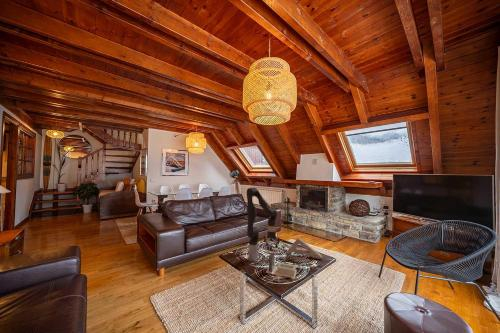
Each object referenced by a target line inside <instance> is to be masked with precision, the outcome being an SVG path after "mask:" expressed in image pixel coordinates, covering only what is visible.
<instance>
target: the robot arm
mask: <svg viewBox="0 0 500 333" xmlns="http://www.w3.org/2000/svg"><path fill="white" fill-rule="evenodd" d="M253 198H256V199H257V200H258V204H259V206H260V207H261V209H263V211H264V213H265V215H266V216H267V217H268V220H267V235H266V234H265V235H264V236H263V242H264V243H265V246H266V248H267V247H268V246H269V241H270V242H274V243H275V249H277V248H278V245H279V244H280V236H277V233H276V230H277V229H276V221H277V217H278V216H277V215H278V211H277V209H276V208H275V207H273V208H270V207H271V205H270V204H269V203H268V202H267V201H266V199H264V197H263V195H262V194H261V193H260V191H259V189H258V188H257V187H249V188H247V189H246V201H247V202H246V203H247V228H246V229H247V231H246V233H247V234H246V235H247V237H248V238H249V240H248V254H247V255H248V261H250V262H253V263H254V262H256V261H258V259H259V250H258V249H259V244H258V243H259V239H260V238H259V236H260V235H259V234H260V233H259V229H258V228H257V227H256V226H254V223H255V220H256V218H257V207H256V205H255V203H254V202H253Z"/></svg>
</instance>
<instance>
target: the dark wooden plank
mask: <svg viewBox="0 0 500 333" xmlns="http://www.w3.org/2000/svg"><path fill="white" fill-rule="evenodd" d="M268 255H269V256H268V267H269V272H272V271H273V269H274V266H275V252H274V251H273V252H272V251H271V252H270V254H268Z"/></svg>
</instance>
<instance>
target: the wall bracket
mask: <svg viewBox="0 0 500 333" xmlns="http://www.w3.org/2000/svg"><path fill="white" fill-rule="evenodd" d="M299 245H300V246H301V247H302V248H299V247H298V246H299ZM293 252H294V253H298V254H299V253H301V254H305V255H307V256H309V257H311V258H312V259H317V260H319V259H320V260H322V259H323V256H322V255H321V253H319V252H318V251H317V250H315V249H314V247H311V246H310V245H309V244H308V243H307V242H306V241H304V240H303V239H302V238H301V237H299V236H297V238H296V239H295V241H293V243H292V244H291V245H290V247H289V248H288V249H287V251H286V253H285V254H286V255H290V254H292V253H293Z"/></svg>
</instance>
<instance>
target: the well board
mask: <svg viewBox="0 0 500 333" xmlns="http://www.w3.org/2000/svg"><path fill="white" fill-rule="evenodd" d="M297 271H298V270H297V268H296V265H293V264H288V263H283V262H279V263H278V265H274V269H273V271H272V272H269V266H268V267H267V269H266V271H265V273H266V274H272V275H277V276H282V277H285V278H291V280H295V278H296V275H297Z"/></svg>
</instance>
